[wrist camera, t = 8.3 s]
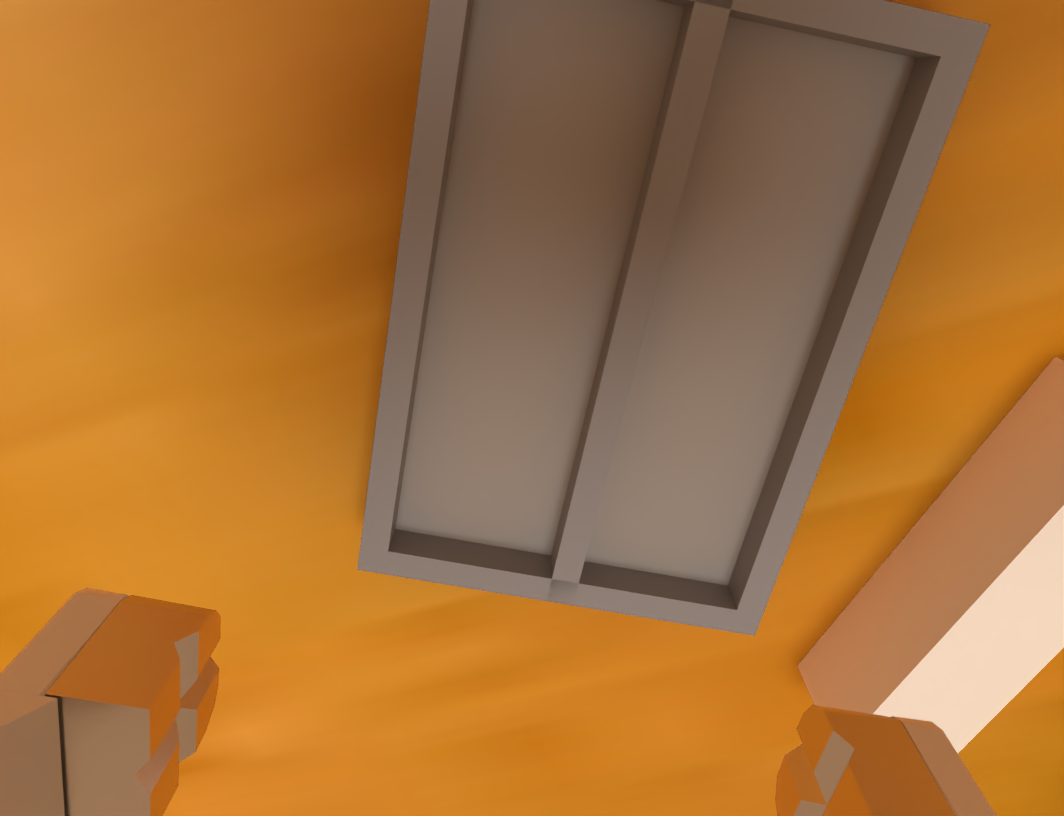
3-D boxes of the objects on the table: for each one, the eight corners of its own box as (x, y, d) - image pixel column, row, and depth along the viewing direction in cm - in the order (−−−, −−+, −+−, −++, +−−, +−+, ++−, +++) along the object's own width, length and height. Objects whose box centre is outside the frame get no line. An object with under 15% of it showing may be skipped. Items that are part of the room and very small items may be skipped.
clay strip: (1051, 354, 28) (1152, 408, 23) (1133, 401, 29) (1248, 462, 24) (795, 661, 33) (836, 754, 29) (869, 694, 34) (920, 790, 30)
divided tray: (454, -78, 22) (443, -101, 20) (937, 31, 24) (990, 24, 21) (373, 525, 31) (357, 569, 28) (735, 587, 32) (754, 635, 29)
